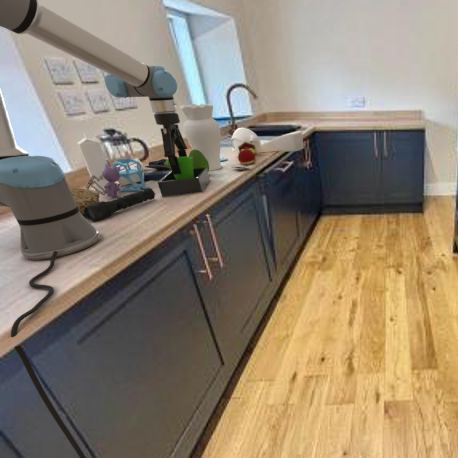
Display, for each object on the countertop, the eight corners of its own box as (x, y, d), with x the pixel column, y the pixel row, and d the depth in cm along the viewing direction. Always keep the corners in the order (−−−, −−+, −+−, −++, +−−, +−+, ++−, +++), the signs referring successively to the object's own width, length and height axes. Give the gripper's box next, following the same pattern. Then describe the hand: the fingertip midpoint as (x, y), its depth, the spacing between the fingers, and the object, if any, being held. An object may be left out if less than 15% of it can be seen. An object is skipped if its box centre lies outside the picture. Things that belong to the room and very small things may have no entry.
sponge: (68, 209, 124) (40, 216, 106) (66, 187, 123) (37, 190, 105) (114, 209, 130) (95, 216, 112) (113, 188, 128) (93, 191, 111)
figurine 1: (98, 195, 127) (96, 163, 128) (113, 198, 134) (111, 168, 135) (114, 193, 127) (111, 161, 128) (128, 196, 134) (125, 166, 135)
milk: (99, 193, 137) (75, 136, 128) (95, 190, 141) (72, 134, 132) (117, 189, 141) (95, 133, 132) (114, 186, 145) (92, 132, 136)
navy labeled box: (181, 168, 159) (166, 174, 150) (183, 175, 161) (168, 181, 152) (143, 168, 161) (126, 174, 152) (145, 174, 162) (128, 180, 153)
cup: (189, 190, 135) (180, 161, 130) (168, 189, 136) (160, 161, 132) (205, 183, 143) (198, 156, 138) (186, 182, 144) (178, 156, 140)
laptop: (230, 169, 163) (230, 165, 162) (240, 169, 168) (240, 165, 167) (240, 171, 159) (239, 167, 159) (250, 171, 164) (250, 166, 164)
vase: (227, 170, 164) (211, 104, 152) (192, 174, 160) (173, 106, 148) (230, 163, 177) (216, 102, 165) (198, 166, 173) (181, 104, 161)
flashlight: (86, 221, 110) (80, 206, 108) (148, 199, 128) (143, 186, 126) (97, 222, 109) (91, 207, 107) (158, 200, 126) (153, 187, 124)
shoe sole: (239, 153, 200) (235, 134, 196) (249, 148, 212) (246, 131, 207) (301, 151, 197) (298, 133, 193) (308, 147, 209) (305, 129, 205)
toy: (232, 157, 186) (217, 161, 177) (232, 159, 186) (218, 163, 178) (212, 156, 190) (197, 160, 182) (212, 157, 191) (197, 162, 182)
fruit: (198, 174, 159) (191, 147, 154) (215, 174, 158) (208, 147, 153) (187, 179, 152) (179, 151, 147) (204, 179, 151) (196, 151, 146)
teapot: (251, 154, 204) (237, 166, 196) (231, 131, 196) (216, 143, 189) (274, 143, 188) (259, 156, 180) (253, 118, 180) (237, 130, 173)
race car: (156, 165, 151) (155, 155, 151) (142, 167, 152) (141, 156, 152) (182, 169, 166) (181, 160, 166) (169, 171, 167) (168, 161, 167)
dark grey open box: (202, 192, 134) (198, 177, 132) (162, 196, 130) (157, 182, 128) (210, 180, 149) (206, 167, 147) (174, 184, 146) (170, 170, 143)
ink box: (114, 177, 142) (115, 163, 149) (122, 187, 145) (122, 173, 153) (137, 170, 144) (137, 157, 152) (144, 180, 148) (144, 166, 155)
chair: (134, 192, 136) (123, 161, 131) (118, 191, 138) (106, 161, 133) (151, 186, 143) (142, 157, 138) (135, 185, 145) (125, 156, 140)
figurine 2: (241, 160, 184) (239, 170, 171) (236, 141, 179) (233, 150, 166) (258, 157, 186) (257, 167, 173) (253, 139, 181) (252, 148, 168)
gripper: (167, 114, 118) (184, 176, 126) (185, 109, 140) (198, 162, 148) (141, 116, 116) (161, 178, 124) (163, 110, 138) (178, 164, 146)
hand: (181, 170), depth 136 cm, fingers open, 13 cm apart
